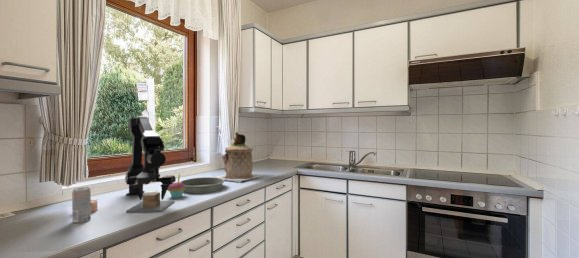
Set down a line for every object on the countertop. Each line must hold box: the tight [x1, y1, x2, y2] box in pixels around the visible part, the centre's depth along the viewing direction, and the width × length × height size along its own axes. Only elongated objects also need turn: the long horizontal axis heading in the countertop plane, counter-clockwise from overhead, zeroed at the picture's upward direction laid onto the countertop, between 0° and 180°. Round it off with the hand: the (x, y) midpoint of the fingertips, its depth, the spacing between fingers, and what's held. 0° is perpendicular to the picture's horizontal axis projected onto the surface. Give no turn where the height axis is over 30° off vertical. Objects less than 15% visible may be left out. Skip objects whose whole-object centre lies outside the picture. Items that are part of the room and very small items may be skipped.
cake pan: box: [180, 176, 225, 194], centre depth 148 cm, size 25×25×4 cm
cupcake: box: [167, 173, 186, 199], centre depth 131 cm, size 9×8×12 cm
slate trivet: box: [125, 200, 175, 213], centre depth 114 cm, size 14×14×1 cm
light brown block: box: [91, 199, 98, 214], centre depth 108 cm, size 7×7×4 cm
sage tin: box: [145, 189, 158, 194], centre depth 126 cm, size 4×4×4 cm
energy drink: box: [71, 186, 92, 224], centre depth 97 cm, size 5×5×12 cm
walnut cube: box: [142, 191, 161, 207], centre depth 114 cm, size 5×5×5 cm
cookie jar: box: [213, 131, 263, 184], centre depth 179 cm, size 25×25×32 cm
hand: (151, 199), depth 114 cm, fingers open, 9 cm apart
